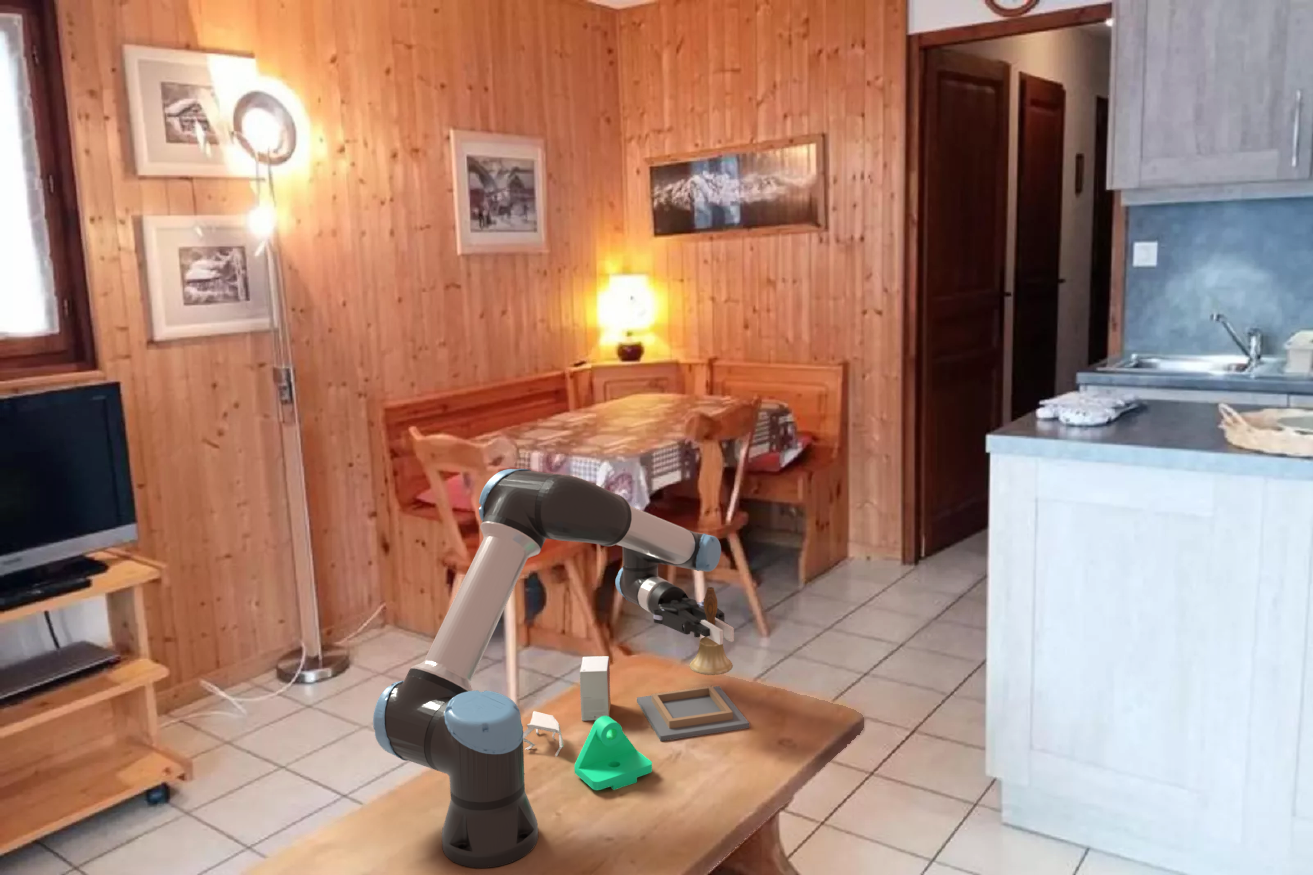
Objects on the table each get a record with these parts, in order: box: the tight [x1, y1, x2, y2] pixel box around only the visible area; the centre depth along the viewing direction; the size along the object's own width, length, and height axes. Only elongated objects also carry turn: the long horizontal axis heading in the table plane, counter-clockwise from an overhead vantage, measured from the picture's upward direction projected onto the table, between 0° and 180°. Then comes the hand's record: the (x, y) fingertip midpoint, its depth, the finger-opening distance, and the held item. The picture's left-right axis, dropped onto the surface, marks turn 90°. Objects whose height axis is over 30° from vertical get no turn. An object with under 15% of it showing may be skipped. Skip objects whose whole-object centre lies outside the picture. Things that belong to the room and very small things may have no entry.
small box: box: [579, 655, 611, 722], centre depth 209 cm, size 8×6×10 cm
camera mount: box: [573, 715, 653, 791], centre depth 183 cm, size 12×8×10 cm, turn 122°
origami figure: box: [523, 710, 564, 757], centre depth 196 cm, size 12×8×5 cm
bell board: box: [636, 685, 750, 742], centre depth 208 cm, size 18×18×2 cm
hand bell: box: [689, 586, 734, 676], centre depth 198 cm, size 8×8×16 cm
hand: (726, 636), depth 193 cm, fingers closed on hand bell, 2 cm apart
